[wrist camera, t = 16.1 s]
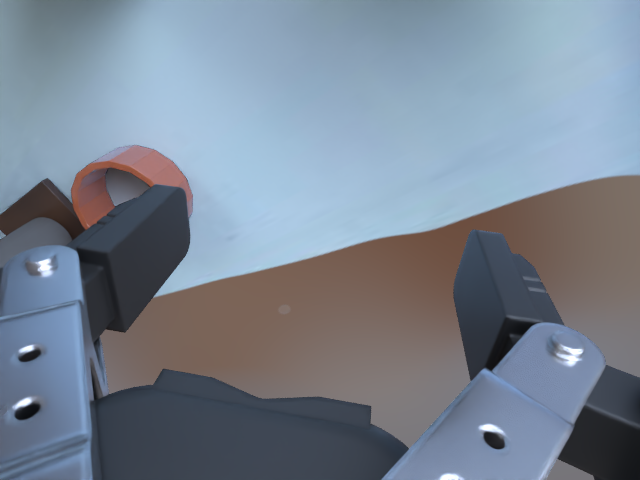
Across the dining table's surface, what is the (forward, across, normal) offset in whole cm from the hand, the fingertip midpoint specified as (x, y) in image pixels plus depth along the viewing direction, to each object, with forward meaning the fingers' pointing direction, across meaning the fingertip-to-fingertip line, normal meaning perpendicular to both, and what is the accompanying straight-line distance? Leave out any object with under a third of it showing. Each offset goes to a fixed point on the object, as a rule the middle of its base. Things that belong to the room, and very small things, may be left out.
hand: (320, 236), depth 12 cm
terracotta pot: (+30, +23, +16) cm, 41 cm away
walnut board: (+30, +36, +23) cm, 53 cm away
